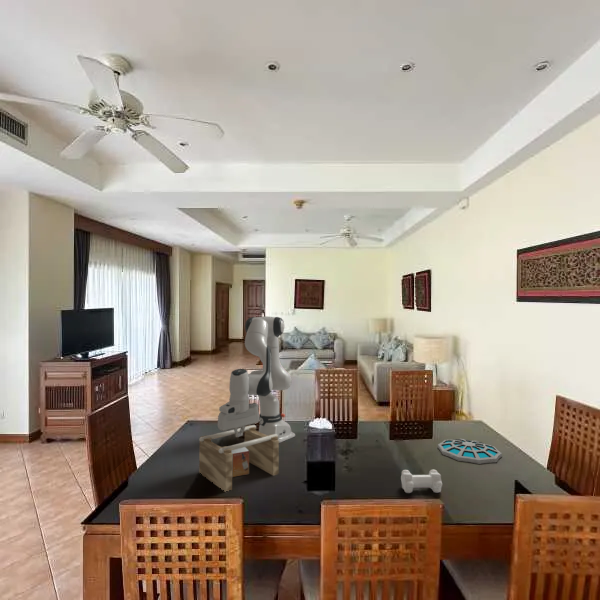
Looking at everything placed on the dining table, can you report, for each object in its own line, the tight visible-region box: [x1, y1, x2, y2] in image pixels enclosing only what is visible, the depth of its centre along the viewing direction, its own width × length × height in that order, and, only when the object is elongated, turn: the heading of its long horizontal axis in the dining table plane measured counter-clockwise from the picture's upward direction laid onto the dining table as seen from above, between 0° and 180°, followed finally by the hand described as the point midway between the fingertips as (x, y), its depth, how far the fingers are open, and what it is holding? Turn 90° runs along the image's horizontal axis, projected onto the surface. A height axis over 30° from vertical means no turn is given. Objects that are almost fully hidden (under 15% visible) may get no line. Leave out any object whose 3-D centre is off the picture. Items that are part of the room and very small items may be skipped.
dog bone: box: [400, 469, 443, 494], centre depth 158 cm, size 15×9×8 cm, turn 91°
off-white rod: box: [219, 434, 278, 453], centre depth 167 cm, size 30×2×2 cm, turn 130°
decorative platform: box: [437, 438, 503, 465], centre depth 200 cm, size 31×29×5 cm
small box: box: [231, 447, 250, 478], centre depth 174 cm, size 8×6×10 cm
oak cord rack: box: [198, 424, 280, 493], centre depth 174 cm, size 27×24×16 cm
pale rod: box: [198, 424, 257, 443], centre depth 181 cm, size 30×2×2 cm, turn 130°
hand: (239, 436), depth 174 cm, fingers closed
